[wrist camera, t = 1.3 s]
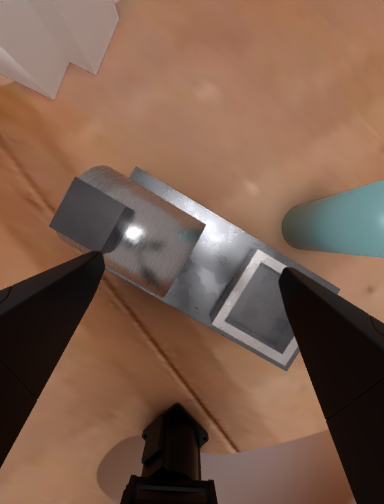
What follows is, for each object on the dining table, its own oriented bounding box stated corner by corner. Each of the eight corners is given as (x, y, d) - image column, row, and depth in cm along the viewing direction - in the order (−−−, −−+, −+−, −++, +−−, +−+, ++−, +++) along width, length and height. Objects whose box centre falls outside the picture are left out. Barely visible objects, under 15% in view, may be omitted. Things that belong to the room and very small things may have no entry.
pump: (310, 257, 24) (415, 274, 13) (273, 235, 23) (347, 232, 12) (345, 202, 23) (486, 170, 12) (308, 178, 23) (416, 124, 12)
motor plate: (330, 286, 24) (454, 328, 13) (280, 363, 25) (355, 467, 13) (139, 170, 23) (90, 105, 11) (92, 256, 23) (2, 272, 12)
